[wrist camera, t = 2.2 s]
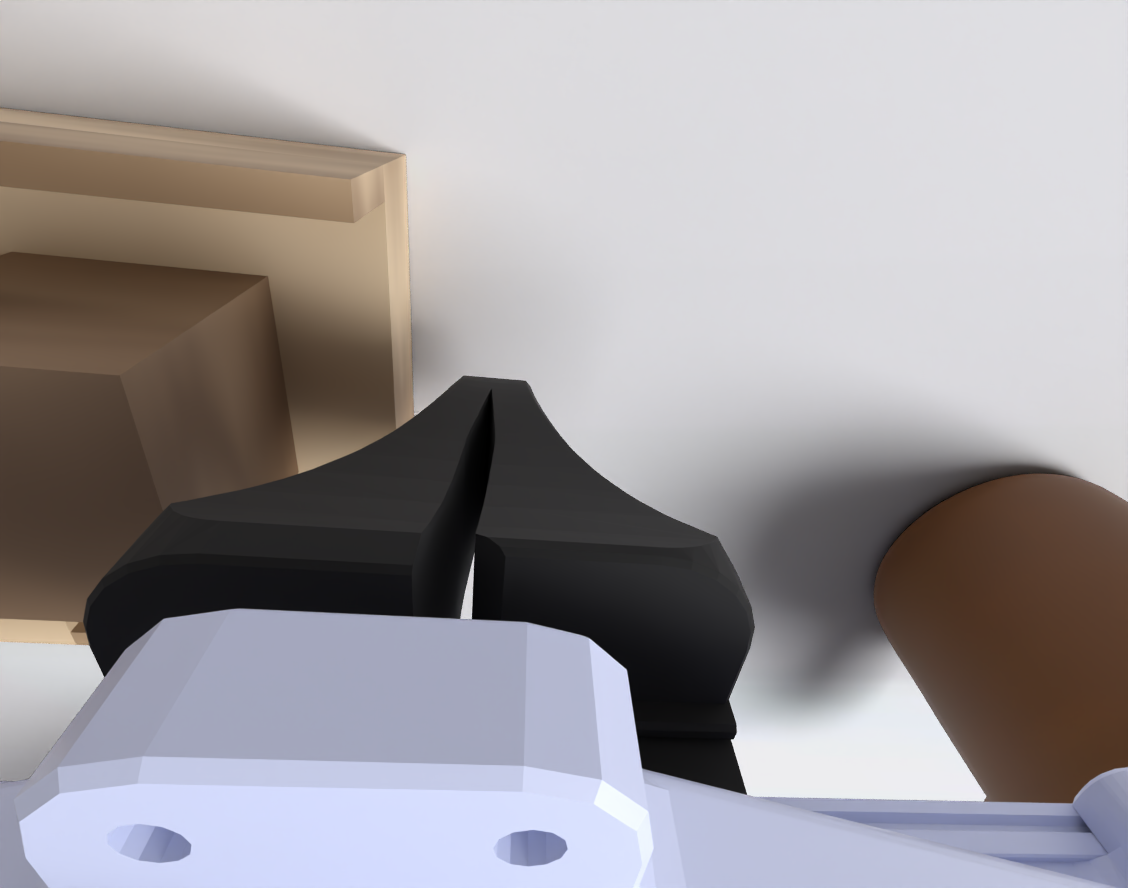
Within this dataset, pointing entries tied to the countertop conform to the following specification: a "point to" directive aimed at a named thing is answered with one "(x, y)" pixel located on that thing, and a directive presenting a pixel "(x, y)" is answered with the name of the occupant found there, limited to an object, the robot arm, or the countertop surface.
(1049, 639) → the mug
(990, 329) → the countertop surface
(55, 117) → the platform
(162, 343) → the walnut block
